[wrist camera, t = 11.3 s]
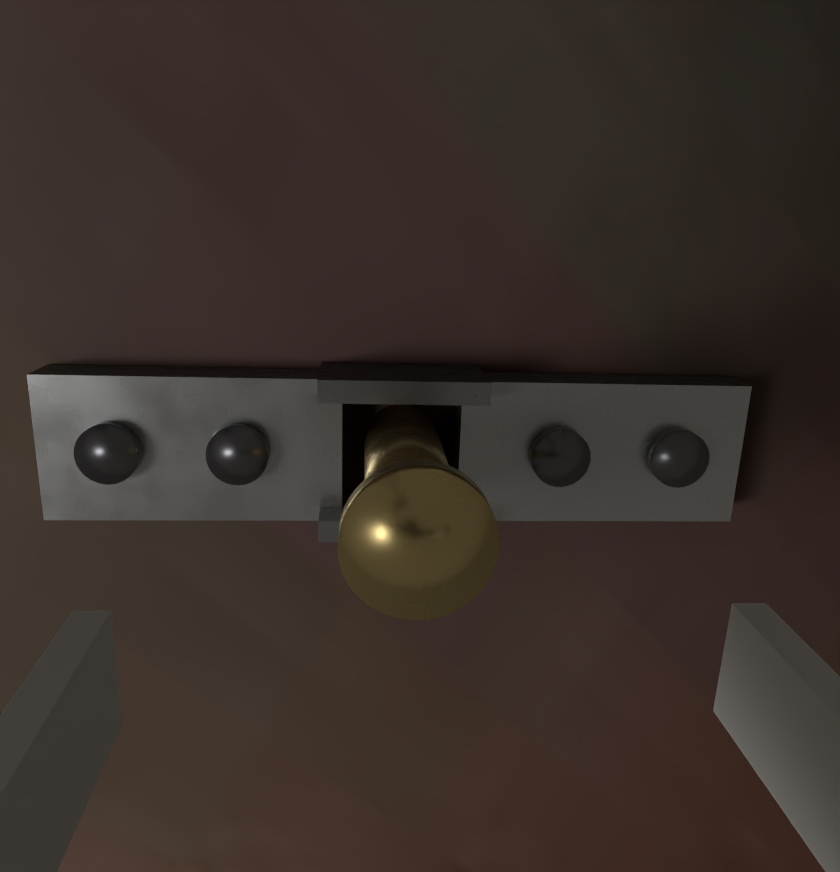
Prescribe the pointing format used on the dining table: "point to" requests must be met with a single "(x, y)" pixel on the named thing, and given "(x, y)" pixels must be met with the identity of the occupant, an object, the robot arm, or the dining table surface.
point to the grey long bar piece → (380, 384)
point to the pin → (415, 523)
